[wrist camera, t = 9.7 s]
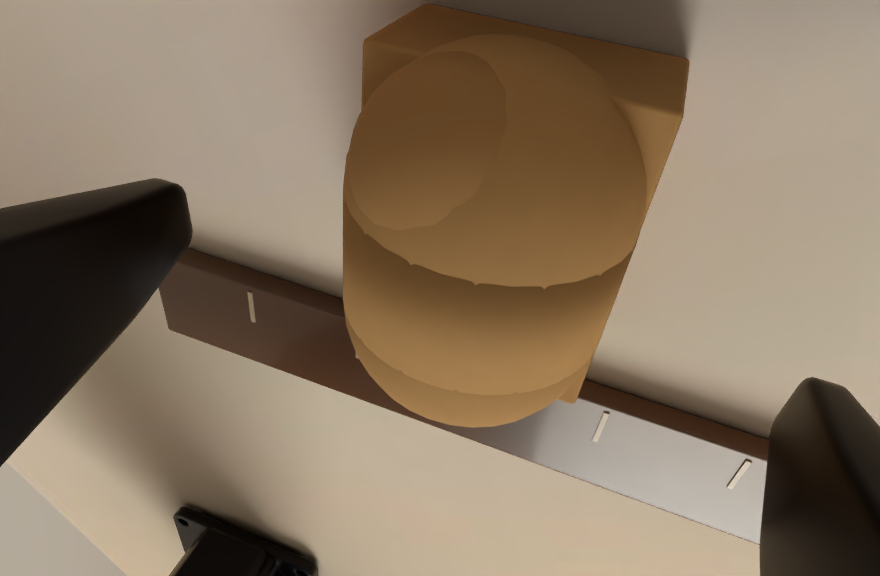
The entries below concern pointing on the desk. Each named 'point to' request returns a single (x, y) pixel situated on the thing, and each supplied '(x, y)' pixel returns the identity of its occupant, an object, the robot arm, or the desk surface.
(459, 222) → the tan arched block
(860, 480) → the robot arm
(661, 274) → the desk surface
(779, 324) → the desk surface
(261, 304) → the walnut ruler
